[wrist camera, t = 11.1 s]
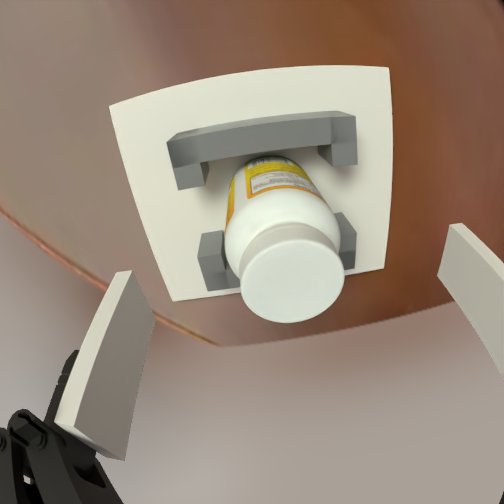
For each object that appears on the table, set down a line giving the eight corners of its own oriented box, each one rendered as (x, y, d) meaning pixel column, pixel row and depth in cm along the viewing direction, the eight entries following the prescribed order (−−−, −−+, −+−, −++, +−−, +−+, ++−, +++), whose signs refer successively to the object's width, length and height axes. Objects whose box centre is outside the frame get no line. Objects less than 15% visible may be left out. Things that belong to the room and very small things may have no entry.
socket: (381, 67, 15) (413, 67, 11) (379, 261, 23) (398, 290, 20) (114, 104, 15) (87, 111, 12) (174, 293, 24) (166, 327, 21)
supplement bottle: (269, 135, 17) (304, 188, 8) (324, 191, 19) (386, 279, 11) (210, 194, 18) (192, 290, 10) (267, 241, 21) (287, 349, 13)
